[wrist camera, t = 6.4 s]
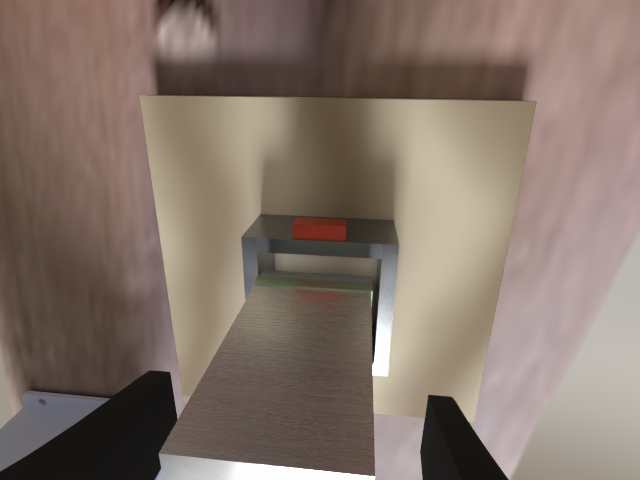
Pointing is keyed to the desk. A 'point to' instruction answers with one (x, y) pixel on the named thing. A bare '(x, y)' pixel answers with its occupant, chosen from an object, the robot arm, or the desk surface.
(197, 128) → the stand base
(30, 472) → the robot arm
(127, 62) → the desk surface
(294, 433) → the column
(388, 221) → the sleeve
